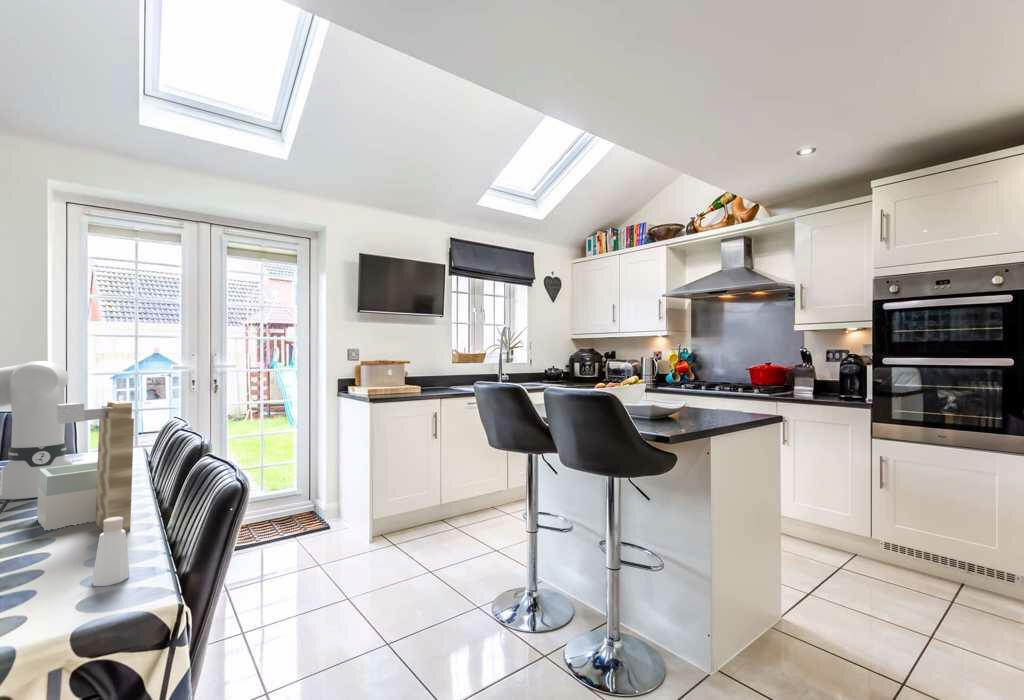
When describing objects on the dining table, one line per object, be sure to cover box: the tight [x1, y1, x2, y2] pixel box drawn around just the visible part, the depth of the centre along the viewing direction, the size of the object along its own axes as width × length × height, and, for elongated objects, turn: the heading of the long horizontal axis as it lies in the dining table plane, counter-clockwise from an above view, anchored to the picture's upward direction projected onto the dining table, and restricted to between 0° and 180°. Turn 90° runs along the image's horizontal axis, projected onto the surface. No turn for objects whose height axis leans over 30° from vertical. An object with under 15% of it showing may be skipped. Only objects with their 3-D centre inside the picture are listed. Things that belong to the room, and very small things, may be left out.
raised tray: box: [36, 461, 98, 532], centre depth 118 cm, size 12×16×12 cm
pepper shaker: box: [91, 517, 130, 587], centre depth 85 cm, size 5×5×11 cm
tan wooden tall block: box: [95, 400, 135, 532], centre depth 112 cm, size 12×4×30 cm, turn 52°
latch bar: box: [57, 402, 108, 424], centre depth 109 cm, size 4×11×4 cm, turn 142°
